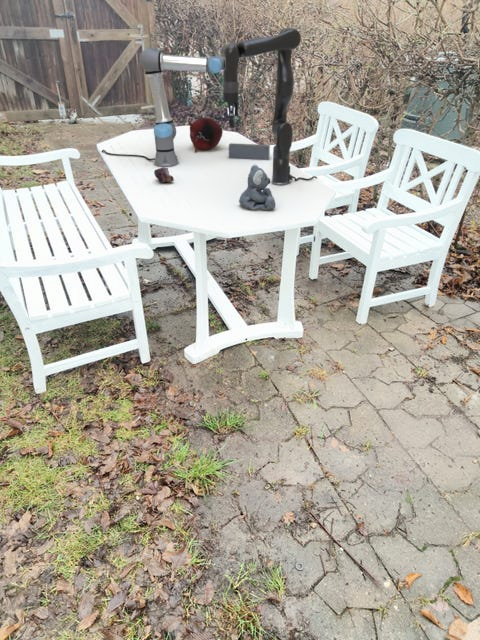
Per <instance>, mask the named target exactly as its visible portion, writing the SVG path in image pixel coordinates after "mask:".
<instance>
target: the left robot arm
mask: <svg viewBox="0 0 480 640" xmlns="http://www.w3.org/2000/svg"><path fill="white" fill-rule="evenodd" d="M139 64H140V66H141V68H143V70H144V74H145V76H146V77H147V78H148V81H149V86H150V92H151V95H152V101H153V107H154V111H155V115H156V120H155V121H154V122H155V125H154V127H153V135H154V145H155V155H154V157H153V158H148V157H147V156H145V155H140V154H125V153H124V154H123V153H111V152H107V151H106V150H105V149H102V150H101V152H102V153H103V152H104V153H105V154H106V155H110V156H117V157H118V156H122V157H138V158H139V157H140V158H145V159H146V160H148V161H154V165H155V166H157V167H160V168H162V167H164V168H169V167H174V166H177V165H178V164H179V159H178V156H177V153H176V151H175V143H174V139H175V138H176V135H177V128H176V126H175V124H174V123H175V122H174V118H173V117H171V113H170V109H169V103H168V99H167V93H166V87H165V82H164V77H163V74H164V72H165V70H166V71H168V70H170V71H186V72H198V73H199V72H202V73H212V74H219V73H220V72H221V71H224V68H225V64H226V60H224V59H223V58H222V56H220V55H219V56H217V55H211V56H210V55H209V56H207V57H206V56H205V57H204V56H192V55H191V56H190V55H175V54H164V53H163V52H162V51H160V50H159V49H157V48H155V47H147V48H145V49H143V50H142V51H141V52H140V55H139ZM239 66H240V63H239V64H238V70H237V73H238V89H239V88H240V81H239V80H240V77H241V76H240V74H239V73H240V67H239ZM239 104H240V102H239V101H238V102H234V103H233V105H235V115H234V117H238V112H239V111H238V106H239Z"/></svg>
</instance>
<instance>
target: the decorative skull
mask: <svg viewBox="0 0 480 640" xmlns="http://www.w3.org/2000/svg"><path fill="white" fill-rule="evenodd" d="M187 122H188V124H189V138H190V141H191V143H192V146H193V147H194V153H197V150H204V151H207V150H212V149H214V148H215V147H217V146H218V145H219V143H220V141H221V140H222V137H223V133H224V132H223V128H222V126H221V125H220V124H219V123H218V122H217V121H216V120H214V118H210V117H202V118H201V117H200V118H199V119H197V120H195V121H194V122H191V121H190V119H188V120H187Z"/></svg>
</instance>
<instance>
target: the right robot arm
mask: <svg viewBox="0 0 480 640" xmlns="http://www.w3.org/2000/svg"><path fill="white" fill-rule="evenodd" d="M301 40H302V35H301V32H300V31H299V30H298V29H296V28H294V27H284V28H282V29H280V31H279V33H278V34H277V35H272V36H264V37H256V38H251V39H247V40H243V41H238V42H232V43H226V44H224V45H223V46H222V47H221V49H220V55H221V56H222V58H223V59H224V60H226V64H225V68H224V70H222V71H223V72H222V73H223V74H222V75H223V77H222V78H223V82H222V83H223V84H222V96H223V97H222V98H223V99H222V101H223V103H227V105H226V110H227V116H228V125H229V129H234V127H235V123H234V122H235V116H234V115H235V105H234V102H238V103H239V88H238V82H239V80H238V73H237V70H238V64H239V65H240V59H242V58H245V59H246V58H252V57H256V56H259V55H263V54H266V53H271V52H275V51H276V52H277V66H276V67H277V69H276V80H275V97H274V111H273V118H272V124H271V134H272V135H273V136H274V137H275V138H276V142H275V143H276V144H275V145H274V146H273V148H272V175H271V183H272V184H273V185H277V186H285V185H288V184H290V182H291V181H293V179H294V181H298V180H303V181H311V180H312V179H317V180H318V177H317V176H316V175H315V176H314V175H313V176H312V177H310V178H306V177H297V178H296V177H295V176H293V175H292V174H291V166H290V153H291V148H292V144H293V136H294V135H293V134H294V133H293V132H294V129H293V125H292V124H291V123H290V122H287V114H288V108H289V106H290V103H291V101H292V98H293V94H294V89H295V88H294V87H295V86H294V85H295V76H294V70H293V66H292V54H293V53H292V52H293V50H295V49H297V48H298V47H299V46H300V44H301V42H302V41H301ZM313 242H316V235H314V236H313Z"/></svg>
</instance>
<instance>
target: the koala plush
mask: <svg viewBox="0 0 480 640" xmlns="http://www.w3.org/2000/svg"><path fill="white" fill-rule="evenodd" d="M270 183H271V178H269V176H268V175H267V173H266V172H265V170H264V169H263V168H261V167H259V165H257V164H253V165H250V170H249V173H248V176H247V188H246V189H245V190H244V191H243V192H242V193H241V194H240V197H239V199H238V203H239V204H240V206H241V207H242V208H246V209H247V210H252V211H255V210H261V211H272V210H274V209H275V208H276V200H275V198H274V196H273V194H272V191H271V188H270V187H268V186H269V185H270Z"/></svg>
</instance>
